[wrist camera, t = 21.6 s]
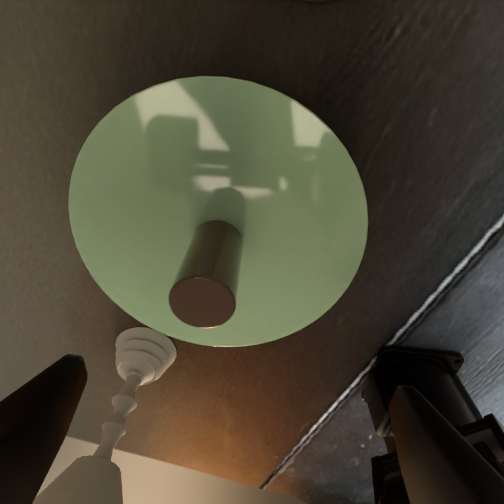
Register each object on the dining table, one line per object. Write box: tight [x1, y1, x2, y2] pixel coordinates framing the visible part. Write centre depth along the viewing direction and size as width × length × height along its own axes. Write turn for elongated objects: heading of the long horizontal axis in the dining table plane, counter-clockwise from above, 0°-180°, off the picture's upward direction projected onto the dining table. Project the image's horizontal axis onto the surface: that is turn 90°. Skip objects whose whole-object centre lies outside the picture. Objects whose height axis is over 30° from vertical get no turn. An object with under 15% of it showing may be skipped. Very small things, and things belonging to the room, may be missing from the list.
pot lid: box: [69, 76, 368, 347], centre depth 14 cm, size 14×14×6 cm
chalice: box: [32, 327, 176, 504], centre depth 19 cm, size 7×7×18 cm
